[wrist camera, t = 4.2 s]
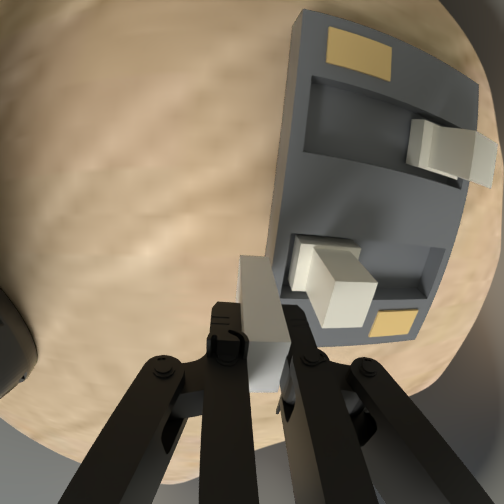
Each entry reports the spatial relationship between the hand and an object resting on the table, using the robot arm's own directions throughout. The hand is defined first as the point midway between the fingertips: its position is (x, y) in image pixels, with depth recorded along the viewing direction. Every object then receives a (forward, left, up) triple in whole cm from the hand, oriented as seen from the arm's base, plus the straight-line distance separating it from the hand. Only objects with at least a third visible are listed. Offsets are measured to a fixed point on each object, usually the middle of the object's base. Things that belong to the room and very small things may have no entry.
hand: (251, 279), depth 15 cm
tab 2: (+12, +9, -3) cm, 15 cm away
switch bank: (+8, +5, -5) cm, 11 cm away
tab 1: (+5, 0, -3) cm, 6 cm away
